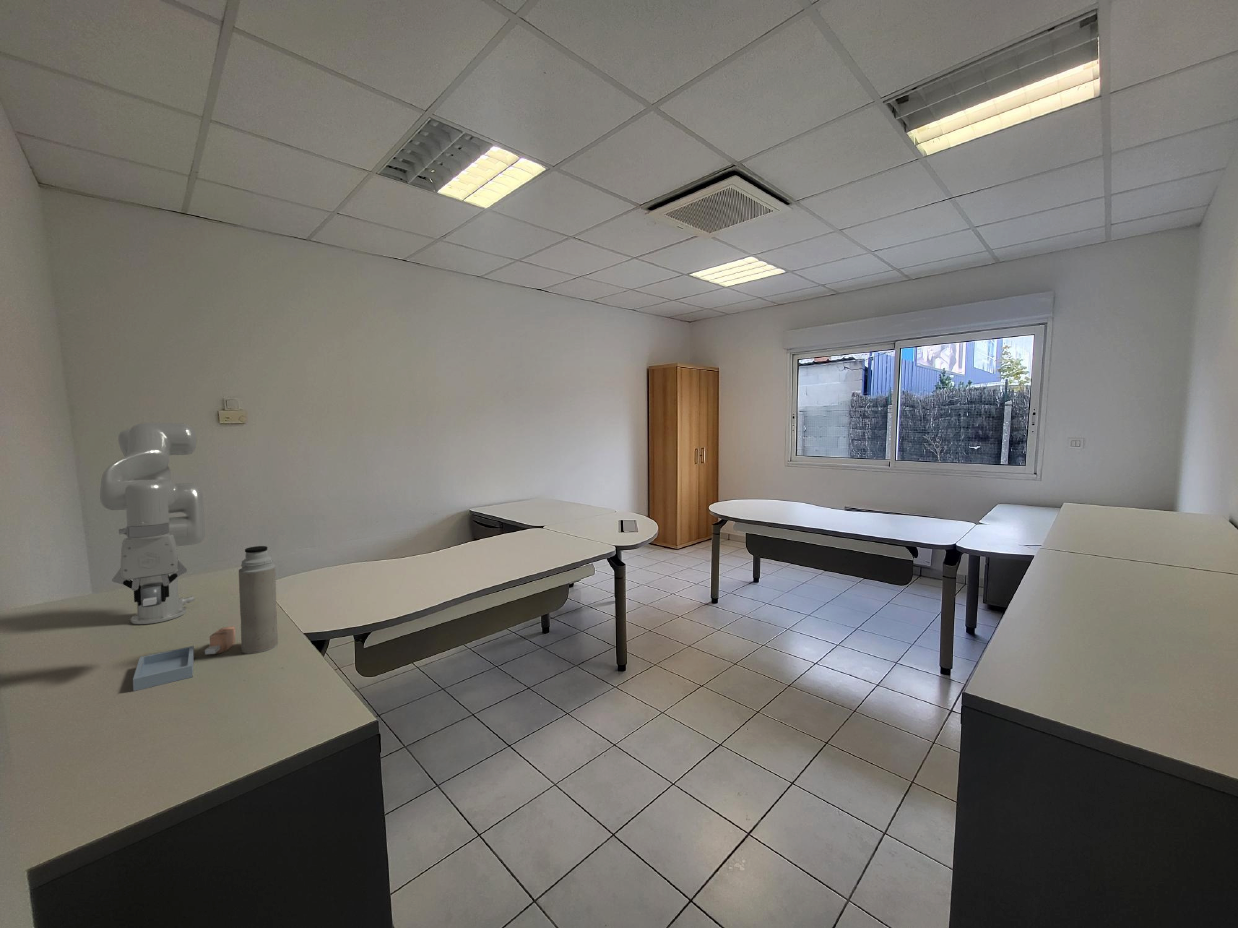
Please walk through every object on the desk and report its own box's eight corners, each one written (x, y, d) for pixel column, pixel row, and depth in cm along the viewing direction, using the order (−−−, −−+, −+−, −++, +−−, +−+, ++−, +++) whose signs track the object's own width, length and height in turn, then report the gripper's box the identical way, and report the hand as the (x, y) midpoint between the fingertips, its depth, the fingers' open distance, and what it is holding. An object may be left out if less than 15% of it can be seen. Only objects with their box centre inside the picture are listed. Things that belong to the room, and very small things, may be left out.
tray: (140, 667, 118) (140, 656, 118) (194, 655, 125) (193, 645, 125) (133, 691, 108) (132, 679, 108) (192, 676, 114) (191, 665, 114)
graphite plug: (144, 600, 122) (143, 583, 122) (163, 597, 124) (162, 580, 124) (139, 610, 114) (138, 592, 114) (159, 607, 117) (159, 589, 116)
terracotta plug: (223, 642, 133) (222, 626, 133) (238, 640, 134) (237, 625, 134) (202, 658, 124) (201, 642, 123) (218, 656, 125) (217, 640, 124)
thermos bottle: (267, 638, 136) (263, 542, 134) (284, 644, 132) (280, 545, 131) (235, 649, 129) (231, 548, 127) (252, 656, 125) (248, 552, 123)
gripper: (97, 537, 111) (101, 614, 112) (192, 529, 122) (195, 599, 123) (103, 533, 117) (107, 605, 118) (193, 525, 127) (196, 592, 128)
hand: (152, 601), depth 120 cm, fingers closed on graphite plug, 3 cm apart
